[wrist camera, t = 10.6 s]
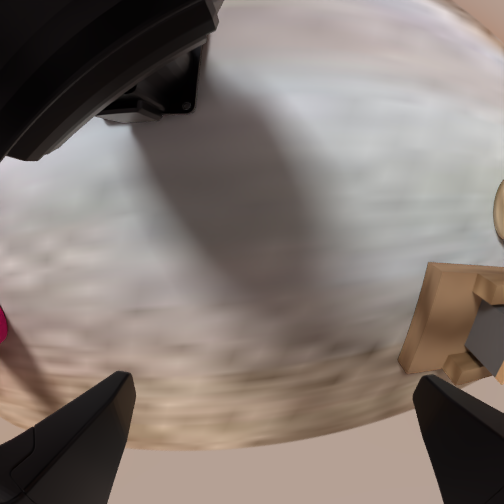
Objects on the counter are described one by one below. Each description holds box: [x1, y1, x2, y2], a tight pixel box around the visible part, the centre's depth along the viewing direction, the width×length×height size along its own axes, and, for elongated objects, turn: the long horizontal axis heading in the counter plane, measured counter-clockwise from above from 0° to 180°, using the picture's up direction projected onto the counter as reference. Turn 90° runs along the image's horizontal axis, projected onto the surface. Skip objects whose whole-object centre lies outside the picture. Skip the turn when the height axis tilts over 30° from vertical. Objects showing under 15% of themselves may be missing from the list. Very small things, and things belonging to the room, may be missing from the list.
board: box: [398, 262, 504, 386], centre depth 19 cm, size 9×11×4 cm
